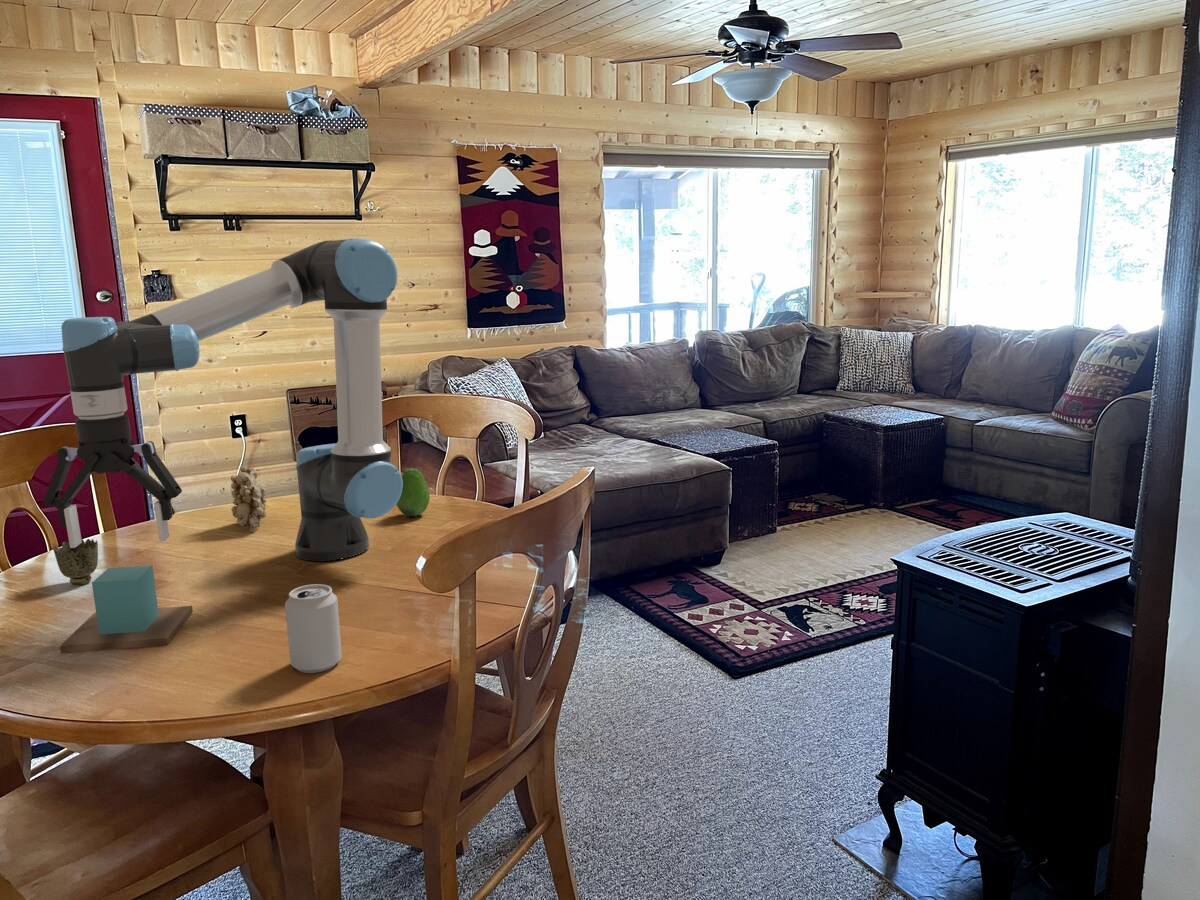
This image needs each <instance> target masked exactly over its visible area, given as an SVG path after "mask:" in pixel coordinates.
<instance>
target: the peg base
mask: <svg viewBox="0 0 1200 900" xmlns="http://www.w3.org/2000/svg"><path fill="white" fill-rule="evenodd" d="M193 611H194V610H193V606H192V605H183V606H168V607H158V613H159V615H158V617H157V618H156V619H155V620H154V621H153V622H152V624H151V625H150V626H149V627H148V628H147V629H146V631H143V632H129V633H116V634H102V635H99V630H98V623H97V616H96V612H94V613H92V615H91V616H90V617H88V619H86V620H85V621H84V622H83V623H82V624H81V625H80V626H79V627H78V628H77V629H76V630H75V631H74V632H73V633H72V634H71V635H70V636H69V637H67V638H66V639H65V640H64V641H62V643H61V644H60V645H59V649H60V651H59V652H60V653H61V654H65V653H68V654H69V653H78V652H92V651H104V650H106V651H107V650H117V649H118V650H119V649H129V648H143V647H144V648H145V647H147V648H148V647H155V646H156V647H157V646H158V647H159V646H168V645H169V644H170V643H171V642H172V641H173V639H174V637H175V636H176V635H177V634H178V632H179V631H180V630H181V628H182V627H183V626H184V624H186V622H187V620H188V619H189V618H190V616H191V615H192V614H193V613H192V612H193ZM185 621H186V622H185ZM179 629H180V630H179ZM176 633H177V634H176ZM172 638H173V639H172ZM169 642H170V643H169Z"/></svg>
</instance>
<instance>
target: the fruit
mask: <svg viewBox="0 0 1200 900" xmlns="http://www.w3.org/2000/svg"><path fill="white" fill-rule="evenodd" d="M401 476H402V480H403V488H402V493H401V496H400V499H399V500H398V502H397V504H396V506H397V508H398V510H399V511H400V512H401V513H402V515H404V516H406V515H407V516H406V517H410V516H415V517H418V516H417V515H419V516H421V515H422V514H423V513H425V512H426V509H427V508H428V506H429V504H430V498H431V495H430V489H429V486H428V483H427V482H426V480H425V476H424V474H423V472H422V471H420V470H419V469H417V468H414V467H409V468H407V469H405V471H404V472H403V473H402V474H401Z"/></svg>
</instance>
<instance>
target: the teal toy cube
mask: <svg viewBox="0 0 1200 900" xmlns="http://www.w3.org/2000/svg"><path fill="white" fill-rule="evenodd" d="M91 586H92V593H93V599H94V601H93V602H94V608H95V613H96V616H97V623H98V630H99V635H102V634H116V633H129V632H143V631H146V629H147V628H148V627H149V626H150V625H151V624H152V622H153V621H154V620H155V619H156V618H157V617H158V615H159V613H158V608H159V605H158V598H157V597H158V596H157V591H156V583H155V575H154V566H153V565H140V566H135V565H134V566H122V567H121V566H120V567H119V566H118V567H109V568H107V569H105V571H103V572H102V573H101V574H100V575H98V577H96V578H95V579H94V580H93V581H92V582H91Z"/></svg>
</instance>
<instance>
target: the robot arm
mask: <svg viewBox="0 0 1200 900" xmlns="http://www.w3.org/2000/svg"><path fill="white" fill-rule="evenodd" d="M397 283H398V269H397V266H396V262H395V260H394V258H393V256H392V254H391V253H390V252H389V251H388V250H387V248H385V247H384V246H382V244H381V243H379V242H376V241H374V240H371V239H366V238H359V237H358V238H357V237H356V238H348V239H336V240H323V241H320V242H319V241H318V242H316V243H314V244H311V245H309V246H307V247H305V248H302V249H300V250H298V251H296V252H294V253H290V254H288V255H286V256H283V257H282V258H278V259H276V260H274V261H273V262H272V264H271V267H270V268H268V269H266V270H262V271H259V272H257V273H255V274H252V275H249V276H247V277H245V278H242V279H239V280H236V281H234V282H233V281H232V282H231V283H228V284H225V285H223V286H220V287H217V288H214V289H212V290H210V291H206V292H204V293H201V294H199V295H196V296H193V297H190V298H188V299H186V300H183V301H180V302H178V303H177V302H176V303H175V304H171V305H168V306H167V307H164V308H161V309H160V310H159V309H158V310H156V311H154V312H150V313H149V314H146V315H142V316H140V317H137V318H134V319H133V320H129V321H119V322H118V321H117V322H116V320H115V319H114V318H113V317H111V316H94V317H93V316H91V317H89V316H88V317H73V318H68V319H65V320H64V321H63V322H62V324H61V326H60V327H61V339H62V352H63V354H64V355H63V356H64V360H65V366H66V371H67V377H68V382H69V383H68V384H69V390H70V391H69V392H70V397H71V398H70V399H71V403H72V409H73V412H72V413H73V415H75V416H76V417H77V418H76V420H75V421H74V425H75V431H76V436H77V441H78V447H72V446H70V445H65V446H62V447H60V448H59V449H58V450H57V452H56V453H57V464H56V465H55V469H54V472H53V473H52V476H51V480H50V481H49V484H48V487H47V490H46V493H45V495H44V497H43V500H42V504H43V505H44V506H46V507H50V506H51V507H53V508H54V507H55V508H56V509H57V512H58V519H59V524H60V526H61V528H66V531H67V537H68V542H69V544H70V548H75V547H77V546H78V545H79V544H81V543H82V540H81V539H82V535H81V528H80V523H79V516H78V515H79V514H78V511H77V510H78V509H77V504H72V501H73V499H74V498H75V497H76V496H77V494H78V493H79V492H80V490H81V489H82V488H83V486H84V485H85V483H86V482H87V481H88V479H89V478H90V477H91V475H92V474H93V473H96V474H97V475H99V474H105V473H112V474H114V473H115V474H117V473H120V472H122V471H123V472H124V473H125V475H128V476H130V477H131V478H133V480H135V481H136V482H137V483H138V484H139V485H140V486H141V487H142V488H143V489H145V490H146V491H147V492H148V493H149V494H150V495H152V496H153V497H154V498H155V499H156V502H154V504H153V505H154V506H153V507H154V513H155V519H156V520H155V521H156V527H157V534H158V541H159V542H160V543H161V542H163V543H164V542H166V541H167V539H168V538H169V537H170V532H169V531H170V530H169V524H168V521H170V520H171V519H172V518H173V507H172V501H171V500H172V499H175V498H177V497H178V496H179V495H180V494H182V492H183V490H182V488H181V486H180V484H179V483H178V482H177V481H176V479H175V478H174V476H173V475H172V473H171V472H170V470H169V469H168V468H167V466H166V465H165V464H164V462H163V461H162V459H161V458H160V457H159V455H158V453H157V450H156V446H155V443H154V442H153V441H151V440H149V441H146V442H144V443H140V444H135V443H134V441H133V440H132V439H133V438H132V431H131V423H130V418H129V417H130V416H129V415H127V414H126V413H125V412H127V410H128V402H127V396H126V390H125V381H124V376H128V375H130V376H131V375H137V374H148V373H156V372H167V371H176V372H178V371H181V370H185V369H191V368H194V367H195V366H196V365H197V364H198V362H199V359H200V344H199V343H200V341H203V340H205V339H207V338H210V337H212V336H214V335H217V334H221V333H222V332H224V331H227V330H230V329H232V328H234V327H236V326H239V325H242V324H244V323H246V322H249V321H251V320H254V319H256V318H259V317H262V316H264V315H266V314H269V313H271V312H274V311H276V310H279V309H282V308H283V307H286V306H291V307H292V308H293V307H294V308H298V307H300V306H302V305H303V306H304V305H305V304H308V303H312V302H320V301H324V311H325V312H326V313H327V314H328V316H330V317H331V318H332V320H333V337H334V338H333V341H334V361H335V362H334V366H335V384H336V386H335V389H336V411H337V413H336V414H337V415H336V416H337V436H338V437H337V442H336V443H335V442H334V443H328V444H320V445H314V446H308V447H304V448H301V449H300V450H299V451H297V453H296V462H295V463H296V465H295V469H296V474H297V483H298V485H297V487H298V495H299V505H300V515H301V520H300V524H299V528H298V531H297V536H296V539H295V544H294V548H295V550H294V551H295V555H296V556H297V558H299V559H301V560H305V561H309V560H313V561H312V562H327V561H326V560H333V561H337V560H336V559H340V560H342V559H341V558H346V557H350V556H353V555H356V554H359V553H361V552H363V551H365V550H366V549H367V548H368V547H369V548H370V542H369V541H370V540H369V535H368V533H367V530H366V528H365V526H364V524H363V520H362V518H364V519H377V518H381V517H382V516H383V517H384V516H385V515H387V514H388V513H390V512H391V511H392V509H393V508H394V507H395V505H396V506H397V502H398V500H399V499H400V496H401V493H402V488H403V480H402V474H401V472H400V470H398V468H397V467H396V465H394V464H392V448H391V447H390V446H389V445H388V444H387V443H386V441H384V438H383V437H384V436H383V435H384V433H383V431H384V429H383V428H384V427H383V399H382V398H383V396H382V365H381V362H382V359H381V333H380V332H381V331H380V320H381V318H382V317H383V316H384V315H385V314H386V313H387V312H388V302H387V301H388V298H389V297H390V296H392V293H393V291H395V288H396V286H397ZM136 453H138V455H139V456H140V457H141V458H143V459H144V461H145V462H146V464H147V466H148V468H150V470H151V471H152V473H153V474H154V475H155V477H156V478H157V479H158V480H159V482H160V483H159V482H158V481H157V480H156V479H155V478H154V477H153V476H151V475H150V473H148V472H147V471H146V470H145V469H143V467H141V465H140V463H139V462H138V461H136V459H134V458H133V457H134V456H135V454H136ZM77 457H78V458H79V459H81V461H82V462H83V463H84V465H83V466H82V467H81V469H80V470H79V471H78V473H77V475H76V476H75V477H74V478H73V480H72V481H71V483H70V484H69V486H68V487H67V488H66V489H65V491H64V493H63V494H62V495H61V491H62V489H63V487H64V483H65V480H66V478H67V476H68V474H69V471H70V469H71V466H72V462H73V461H75V459H76V458H77ZM60 495H61V496H60ZM59 496H60V497H59ZM369 548H368V549H369ZM365 552H366V551H365ZM359 555H360V554H359ZM350 558H351V557H350ZM346 559H347V558H346Z"/></svg>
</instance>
